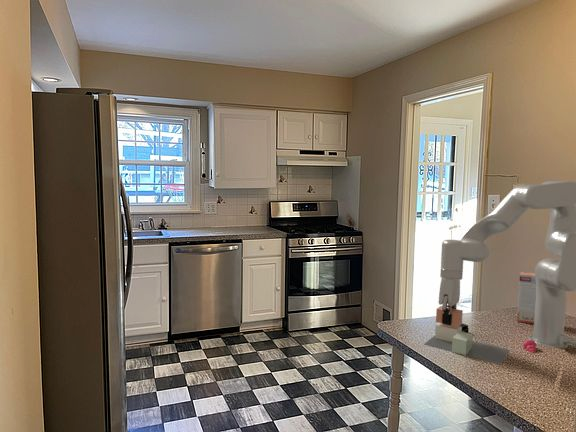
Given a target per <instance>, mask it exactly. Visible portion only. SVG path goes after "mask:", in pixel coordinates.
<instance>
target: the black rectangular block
mask: <svg viewBox="0 0 576 432" xmlns="http://www.w3.org/2000/svg"><path fill="white" fill-rule="evenodd" d="M460 327H462V331H461V332H465V333H469V325H468V324H465V323H463V322H462V324H461V325H460Z"/></svg>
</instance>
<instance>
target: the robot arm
mask: <svg viewBox="0 0 576 432" xmlns="http://www.w3.org/2000/svg"><path fill="white" fill-rule="evenodd" d="M529 209H530V210H545V209H547V210H548V211H549V222H548V227H547V232H546V235H545V240H544V248H545V250H546V251H547V252H548V253H550V254H551V255H554V256H557V257H559V258H560V259H557V258H552V257H547V258H543V259H542V260H541V259H540V261H538V263H537V264H536V265H535V268H534V273H535V279H536V303H535V317H534V324H533V330H532V331H533V332H532V334H530V335H528V338H527V340H533V341H535V343H536V345H540V346H545V347H549V348H550V347H551V348H556V349H557V348H559V349H561V348H562V349H563V348H564V349H568V348H569V344H570V345H573V346H576V338H575V337H571V336H568V335H566V331H565V324H566V323H565V321H566V311H567V309H566V308H567V300H568V299H567V292H576V181H573V180H546V181H544V182H541V184H527V183H526V184H525V183H524V184H523V183H522V184H519V185H518V184H517V185H516V186H515V187H513V188H512V189H511V190H510V191H508V193H507V194H506V196H504V198H503V199H502V200H501V201H500V202H499V203H498V204H497V205H496V206H495V208H494V209H493V210H492V211H491V212H490V213H488V215H485V216H484V217H482V218H481V219H480V220H478V221H477V222H475V223H474V224H473V225H471V226H470V227H469V228H468V229H467V230H466V231H465V232H464V234H462V236H461V237H460V238H459V240H458V239H444V240H443V241H442V243H441V254H440V255H441V257H440V276H439V277H440V278H441V280H440V285H439V292H438V293H439V294H438V305H440V306H442V310H443V311H442V323H443V324H446V325H451V322H452V314H451V309H452V308H453V309H457V304H458V303H459V301H460V298H461V297H460V296H461V280H463V274H464V270H463V269H464V261H467V262H473V263H481V262H484V261H486V260H487V259H488V257H489V255H490V249H489V247H488V246H487V244H486V243H484V242H485V241H486V240H487V239H488V238H491V236H493V235H496V234H498V233H499V234H500V233H502V232H506V231H508V230H510V229H511V228H512V227H514V225H515V224H516V223H517V222H518V221H519V220H520V219H521V218H522V216H523V215H524V214H525V213H526V212H527V211H528V210H529ZM447 307H448V308H449V309H448V308H447Z"/></svg>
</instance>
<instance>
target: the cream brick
mask: <svg viewBox="0 0 576 432" xmlns="http://www.w3.org/2000/svg"><path fill="white" fill-rule="evenodd" d="M434 330H435V331H434V336H435V338H437V339H441V340H445V341H449V342H452V338H453V337H454V336H455V335H456V334H457V333H458V332H459V331H462V327H460V326H459V327H456V326H452V325H446V324H443V323H438V322H437V323H436V324H435V329H434Z"/></svg>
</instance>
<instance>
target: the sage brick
mask: <svg viewBox="0 0 576 432" xmlns="http://www.w3.org/2000/svg"><path fill="white" fill-rule="evenodd" d="M473 335H474V334H473V333H469V332H468V333H467V332H464V331H463V332H461V331H459V332H458V333H457V334H456V335H455V336H454V337H453V338H452V352H451V353H453V354H458V355H461V354H462V356H465V355H466V354H467V353H468V352H469V351H470V350H471V349H472V341H474V340H473V337H474V336H473Z"/></svg>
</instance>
